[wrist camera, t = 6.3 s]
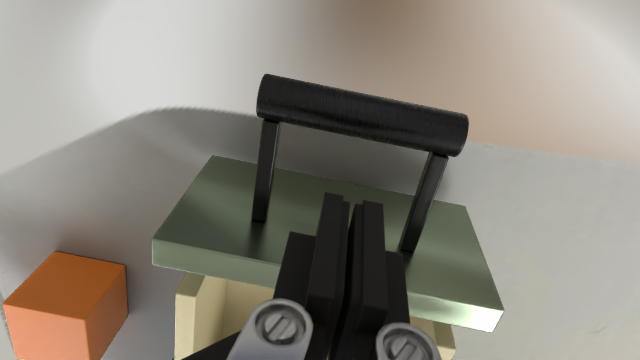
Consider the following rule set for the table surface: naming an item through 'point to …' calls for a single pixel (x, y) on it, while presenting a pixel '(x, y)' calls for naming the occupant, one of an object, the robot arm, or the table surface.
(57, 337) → the matte orange cube
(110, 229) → the table surface
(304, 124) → the drawer
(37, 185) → the table surface
